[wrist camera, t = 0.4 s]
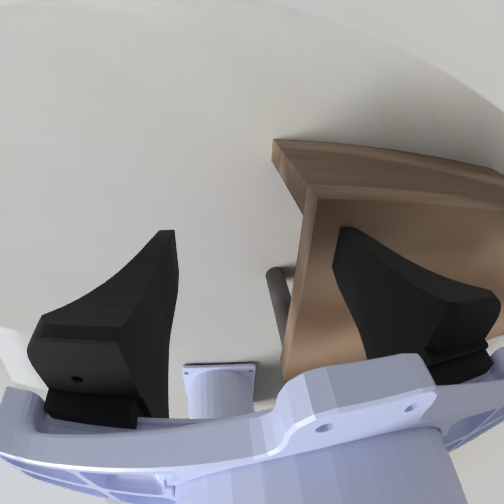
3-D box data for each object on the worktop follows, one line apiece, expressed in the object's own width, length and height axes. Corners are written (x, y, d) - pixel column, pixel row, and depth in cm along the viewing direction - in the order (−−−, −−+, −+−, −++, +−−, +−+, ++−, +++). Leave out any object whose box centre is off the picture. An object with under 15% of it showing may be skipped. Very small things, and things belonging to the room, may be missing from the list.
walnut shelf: (457, 270, 29) (507, 332, 21) (262, 282, 27) (283, 381, 18) (492, 169, 23) (565, 219, 14) (273, 139, 20) (317, 198, 12)
